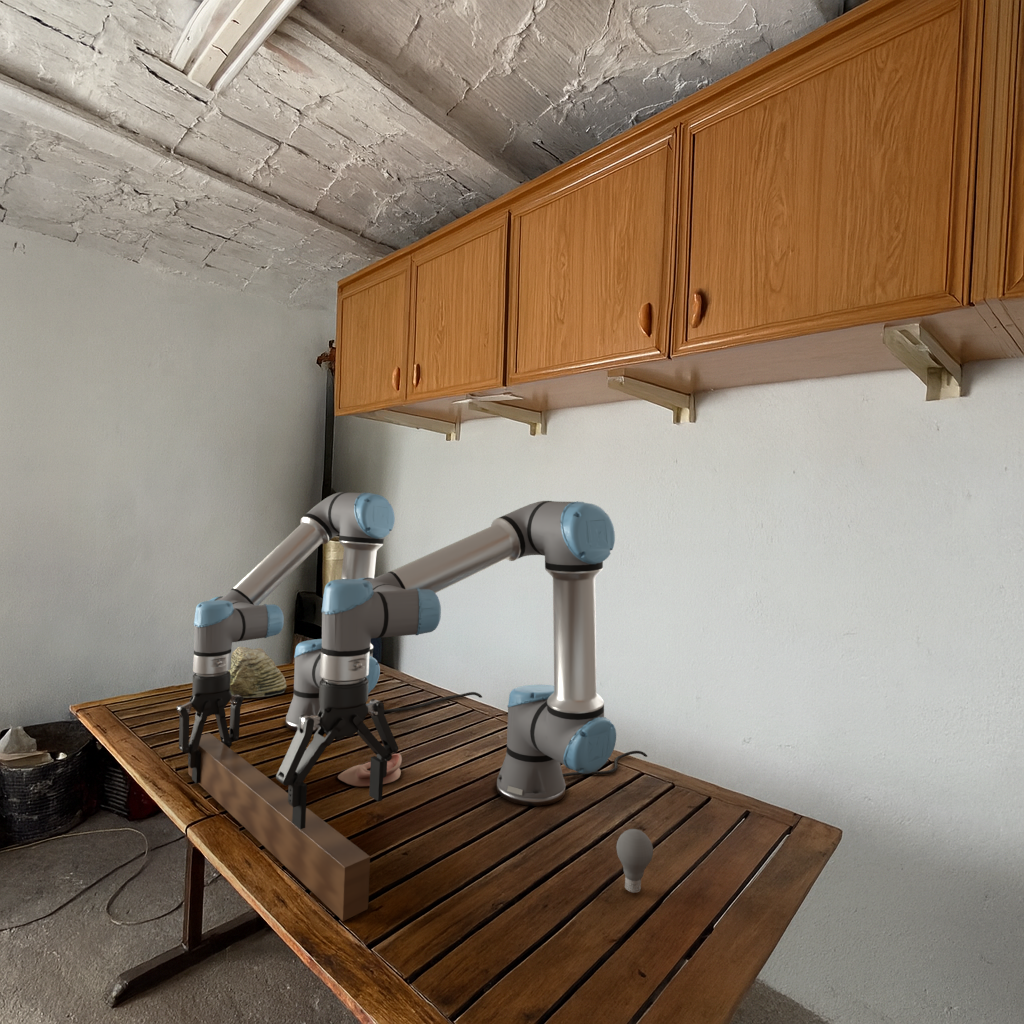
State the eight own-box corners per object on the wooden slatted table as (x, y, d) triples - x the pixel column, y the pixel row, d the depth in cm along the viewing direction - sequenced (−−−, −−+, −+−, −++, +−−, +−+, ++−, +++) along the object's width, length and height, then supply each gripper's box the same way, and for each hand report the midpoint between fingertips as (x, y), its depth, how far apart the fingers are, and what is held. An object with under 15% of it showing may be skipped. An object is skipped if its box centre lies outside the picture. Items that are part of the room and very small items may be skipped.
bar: (188, 773, 142) (189, 737, 142) (208, 768, 145) (209, 732, 145) (342, 921, 95) (344, 867, 95) (368, 908, 98) (370, 856, 98)
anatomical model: (331, 765, 140) (354, 745, 151) (331, 782, 140) (354, 762, 151) (388, 772, 137) (407, 752, 148) (387, 791, 137) (406, 769, 148)
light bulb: (610, 879, 108) (613, 822, 108) (644, 879, 109) (647, 822, 109) (619, 902, 102) (622, 840, 102) (655, 901, 103) (658, 840, 103)
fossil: (218, 695, 195) (220, 647, 195) (278, 685, 208) (279, 640, 207) (228, 703, 189) (230, 653, 188) (289, 692, 201) (290, 645, 201)
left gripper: (174, 683, 130) (170, 795, 130) (258, 669, 142) (255, 772, 143) (162, 674, 135) (159, 783, 136) (244, 662, 148) (241, 761, 148)
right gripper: (279, 698, 89) (273, 848, 89) (422, 670, 106) (416, 795, 107) (256, 686, 94) (250, 827, 94) (396, 661, 112) (391, 780, 112)
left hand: (208, 777), depth 139 cm, fingers closed on bar, 4 cm apart
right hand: (339, 811), depth 100 cm, fingers open, 13 cm apart
